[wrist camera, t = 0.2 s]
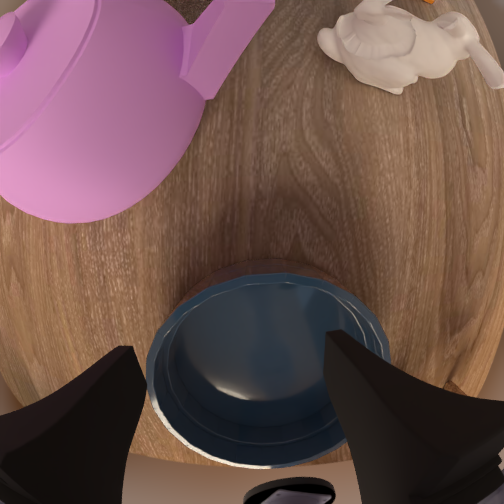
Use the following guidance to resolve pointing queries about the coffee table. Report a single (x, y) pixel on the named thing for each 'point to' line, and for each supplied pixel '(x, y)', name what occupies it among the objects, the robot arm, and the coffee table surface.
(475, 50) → the white lumpy figure
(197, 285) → the bowl
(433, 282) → the coffee table surface
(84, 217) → the teapot
